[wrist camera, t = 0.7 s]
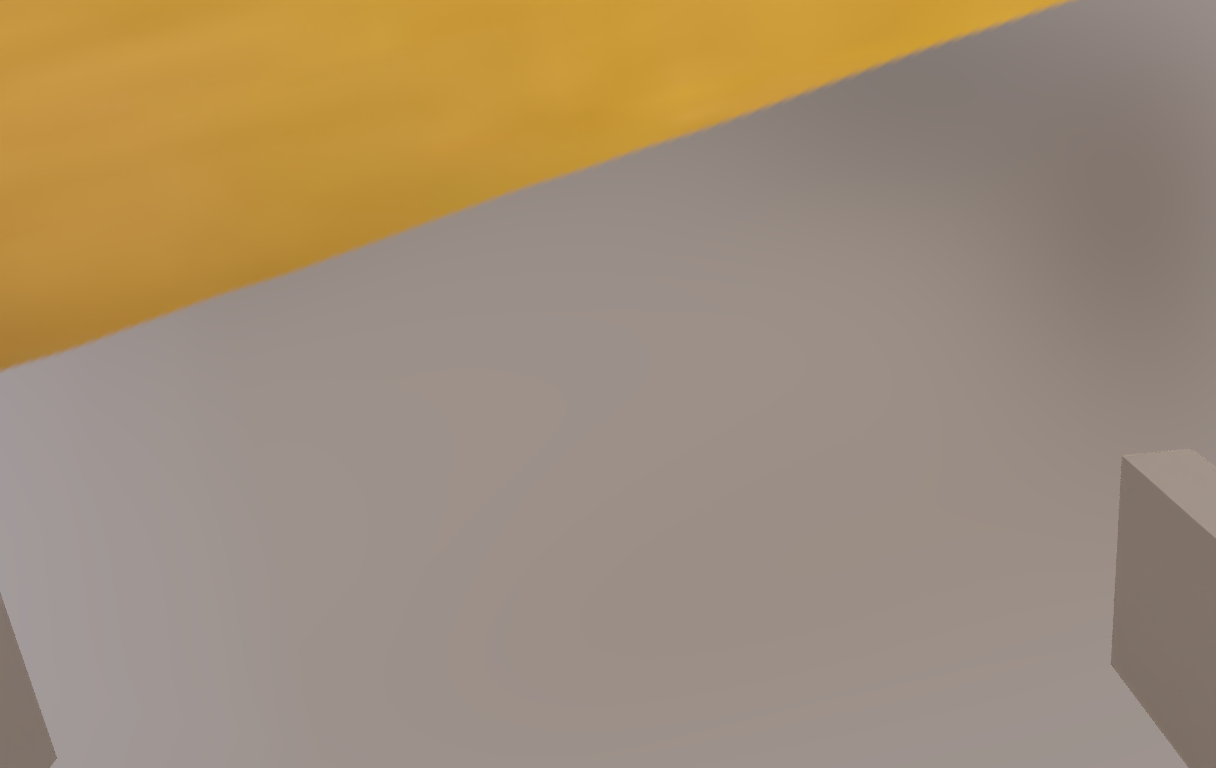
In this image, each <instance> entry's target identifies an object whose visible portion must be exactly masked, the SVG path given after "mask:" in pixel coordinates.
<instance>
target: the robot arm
mask: <svg viewBox="0 0 1216 768" xmlns="http://www.w3.org/2000/svg"><path fill="white" fill-rule="evenodd" d="M1111 665H1112V666H1113V668H1114V669H1115V670H1116V672H1117V673H1118V674H1119V676H1120V677H1121V678H1122V680H1123V681H1124V682H1125V684H1126V685H1127V686H1128V688H1129V689H1130V690H1131V692H1132V693H1133V694H1134V696H1135V697H1136V698H1137V700H1138V701H1139V702H1140V703H1141V705H1142V706H1143V708H1144V709H1145V710H1146V712H1147V713H1148V714H1149V716H1150V717H1151V718H1152V720H1153V721H1154V722H1155V724H1156V725H1157V726H1158V728H1159V729H1160V730H1161V732H1162V733H1163V734H1164V736H1165V737H1166V738H1167V739H1168V741H1169V742H1170V743H1171V745H1172V746H1173V747H1174V749H1175V750H1176V751H1177V753H1178V754H1179V755H1180V757H1181V758H1182V759H1183V761H1184V762H1185V763H1186V765H1187V766H1188V767H1189V768H1216V467H1215V466H1213V465H1212V464H1211V463H1209V462H1208V461H1207V460H1206V459H1204V458H1203V457H1202V456H1200V455H1199V454H1198V453H1196V452H1195V451H1194V450H1193V449H1183V450H1174V451H1163V452H1152V453H1143V454H1132V455H1122V466H1121V485H1120V502H1119V521H1118V540H1117V559H1116V578H1115V598H1114V617H1113V635H1112V655H1111ZM56 758H57V757H56V754H55V751H54V748H53V746H52V743H51V740H50V737H49V734H48V731H47V728H46V725H45V722H44V719H43V716H42V714H41V710H40V708H39V705H38V702H37V699H36V696H35V693H34V690H33V687H32V685H31V681H30V679H29V676H28V673H27V670H26V667H25V664H24V661H23V658H22V655H21V652H20V649H19V646H18V644H17V641H16V638H15V635H14V632H13V629H12V626H11V623H10V620H9V617H8V614H7V612H6V609H5V606H4V603H3V600H2V597H1V594H0V768H50V766H51V765H52V764H53V762H54V761H55V760H56Z"/></svg>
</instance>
